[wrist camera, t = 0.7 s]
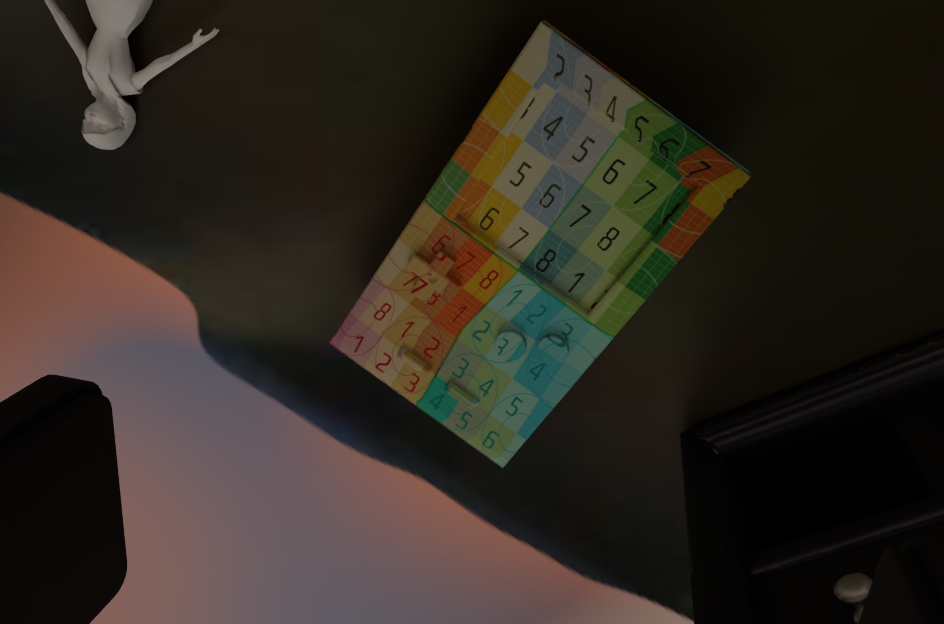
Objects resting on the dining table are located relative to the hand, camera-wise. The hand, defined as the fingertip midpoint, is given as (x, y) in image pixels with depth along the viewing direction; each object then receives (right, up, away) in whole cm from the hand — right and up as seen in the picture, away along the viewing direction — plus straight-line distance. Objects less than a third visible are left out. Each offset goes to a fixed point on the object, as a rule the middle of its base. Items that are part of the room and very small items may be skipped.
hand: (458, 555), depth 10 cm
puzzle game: (+3, +7, +34) cm, 35 cm away
